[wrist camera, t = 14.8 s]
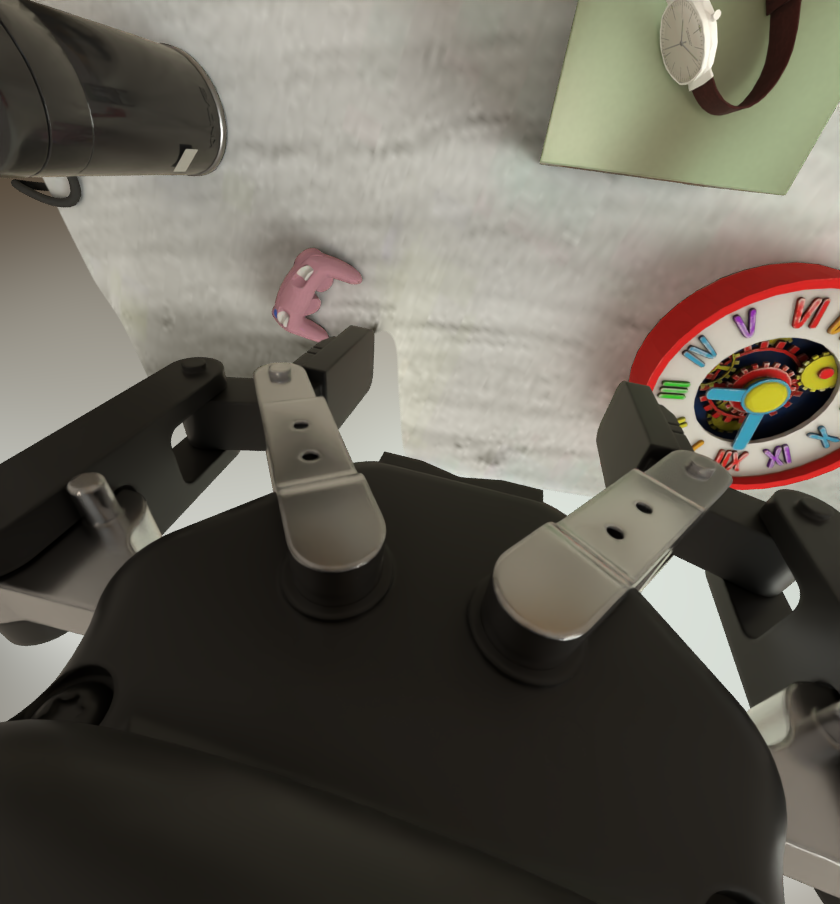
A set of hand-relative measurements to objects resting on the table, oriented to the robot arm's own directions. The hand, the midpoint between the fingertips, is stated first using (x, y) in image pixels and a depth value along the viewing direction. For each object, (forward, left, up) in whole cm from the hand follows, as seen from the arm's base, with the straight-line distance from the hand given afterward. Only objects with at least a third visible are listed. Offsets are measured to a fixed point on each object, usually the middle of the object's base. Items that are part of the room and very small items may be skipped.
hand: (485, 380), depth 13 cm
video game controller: (-20, -8, -30) cm, 37 cm away
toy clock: (+24, -8, -30) cm, 39 cm away
